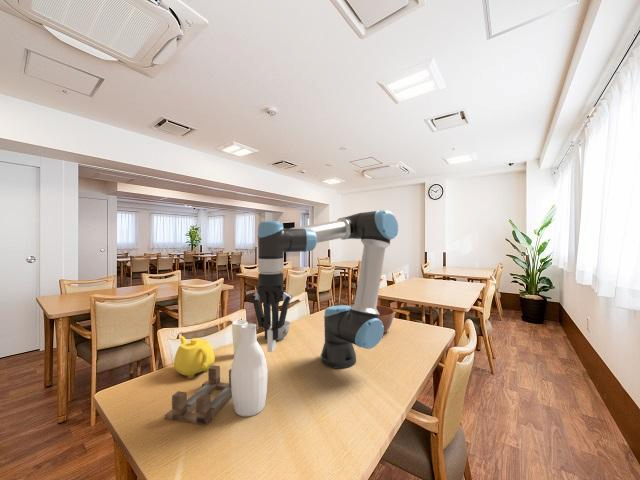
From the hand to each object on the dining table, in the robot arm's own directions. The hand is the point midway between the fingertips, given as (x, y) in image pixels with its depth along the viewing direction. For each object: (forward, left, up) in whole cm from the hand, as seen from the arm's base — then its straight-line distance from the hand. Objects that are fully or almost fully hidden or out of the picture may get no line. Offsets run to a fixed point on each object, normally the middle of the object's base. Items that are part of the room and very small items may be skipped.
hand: (271, 350), depth 82 cm
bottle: (+7, 0, -19) cm, 20 cm away
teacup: (+21, -58, -19) cm, 65 cm away
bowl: (-28, -80, -19) cm, 87 cm away
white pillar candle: (+29, -34, -19) cm, 49 cm away
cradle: (+22, 0, -19) cm, 29 cm away
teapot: (+41, -18, -19) cm, 49 cm away
